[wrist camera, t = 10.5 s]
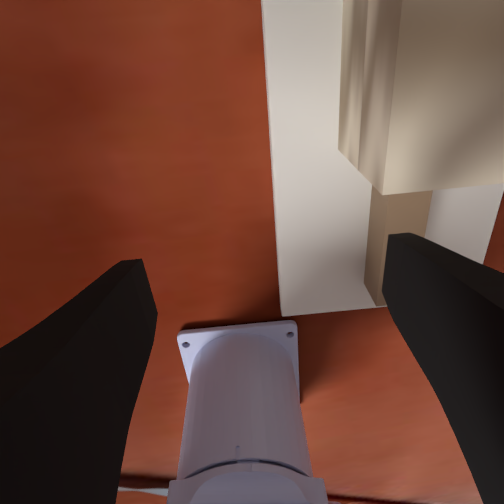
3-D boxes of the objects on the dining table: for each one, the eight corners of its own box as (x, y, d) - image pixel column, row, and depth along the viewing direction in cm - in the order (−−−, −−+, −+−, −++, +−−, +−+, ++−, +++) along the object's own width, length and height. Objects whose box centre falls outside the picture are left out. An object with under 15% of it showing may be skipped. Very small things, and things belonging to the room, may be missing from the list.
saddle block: (453, 137, 17) (548, 178, 12) (337, 149, 17) (382, 195, 12) (496, -84, 13) (668, -167, 8) (345, -68, 13) (416, -140, 8)
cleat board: (464, 288, 23) (516, 344, 19) (280, 306, 23) (290, 366, 19) (580, -153, 13) (752, -250, 9) (253, -117, 13) (262, -196, 9)
